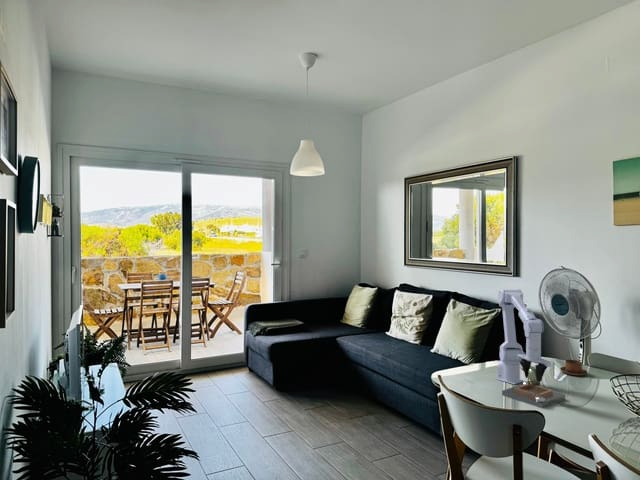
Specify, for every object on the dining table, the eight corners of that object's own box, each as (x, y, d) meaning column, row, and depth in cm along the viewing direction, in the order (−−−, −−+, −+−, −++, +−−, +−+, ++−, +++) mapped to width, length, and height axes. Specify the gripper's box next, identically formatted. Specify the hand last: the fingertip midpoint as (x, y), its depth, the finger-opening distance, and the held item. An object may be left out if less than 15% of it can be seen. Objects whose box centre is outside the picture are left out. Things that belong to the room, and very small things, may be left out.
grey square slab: (502, 395, 193) (502, 387, 193) (525, 387, 203) (525, 379, 203) (542, 408, 178) (542, 399, 178) (565, 399, 188) (565, 391, 188)
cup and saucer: (562, 368, 233) (562, 357, 233) (589, 373, 225) (589, 361, 225) (558, 374, 224) (558, 362, 224) (585, 379, 216) (585, 366, 216)
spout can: (525, 383, 191) (525, 365, 191) (532, 381, 194) (532, 364, 194) (535, 386, 187) (536, 368, 187) (542, 385, 190) (543, 367, 190)
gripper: (555, 350, 186) (555, 382, 186) (524, 343, 199) (524, 373, 198) (545, 352, 182) (545, 385, 182) (514, 345, 195) (514, 375, 195)
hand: (533, 379), depth 190 cm, fingers closed on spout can, 5 cm apart
